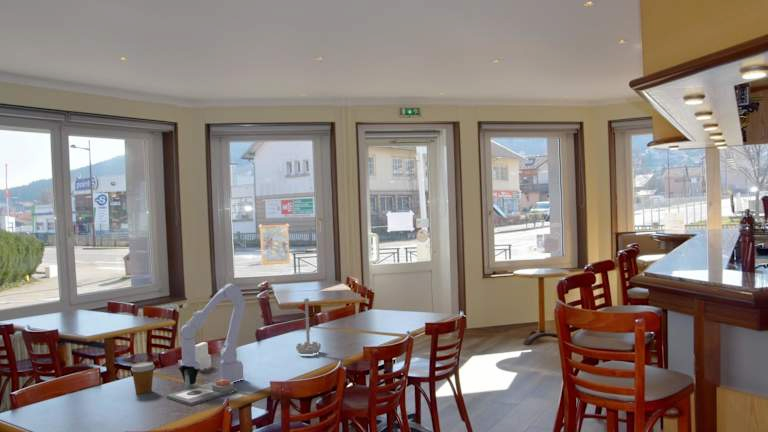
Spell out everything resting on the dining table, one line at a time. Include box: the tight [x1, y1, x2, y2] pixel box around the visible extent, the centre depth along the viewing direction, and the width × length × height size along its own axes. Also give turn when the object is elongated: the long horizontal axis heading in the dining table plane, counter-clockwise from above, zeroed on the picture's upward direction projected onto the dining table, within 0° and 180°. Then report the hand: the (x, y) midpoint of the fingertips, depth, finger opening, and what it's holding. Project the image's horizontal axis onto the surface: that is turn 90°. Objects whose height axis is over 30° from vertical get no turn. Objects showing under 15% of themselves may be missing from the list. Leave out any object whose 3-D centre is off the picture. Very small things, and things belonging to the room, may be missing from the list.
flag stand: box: [295, 297, 322, 354], centre depth 311 cm, size 13×13×30 cm
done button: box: [215, 379, 230, 387], centre depth 249 cm, size 4×4×3 cm
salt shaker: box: [184, 369, 196, 390], centre depth 258 cm, size 4×4×8 cm
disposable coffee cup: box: [130, 361, 155, 395], centre depth 254 cm, size 10×10×12 cm
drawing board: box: [166, 381, 238, 407], centre depth 246 cm, size 22×18×3 cm
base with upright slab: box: [195, 341, 212, 369], centre depth 290 cm, size 9×9×12 cm
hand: (189, 382), depth 258 cm, fingers closed on salt shaker, 4 cm apart
